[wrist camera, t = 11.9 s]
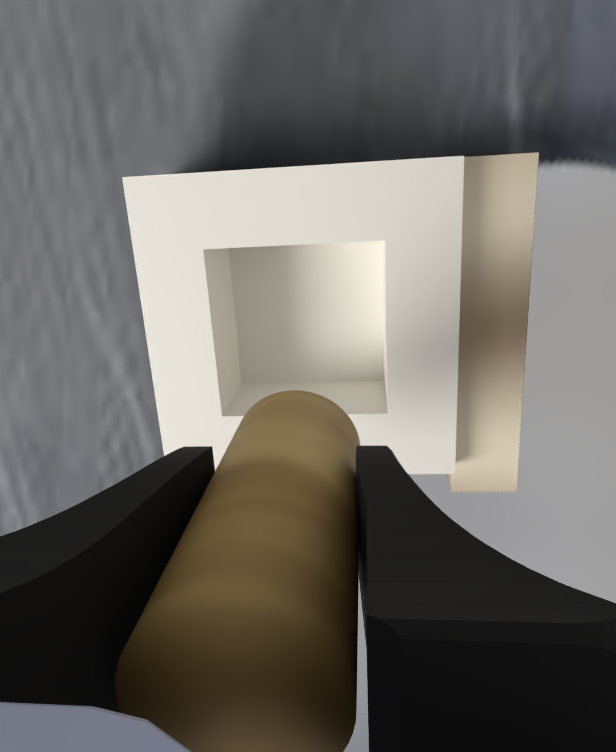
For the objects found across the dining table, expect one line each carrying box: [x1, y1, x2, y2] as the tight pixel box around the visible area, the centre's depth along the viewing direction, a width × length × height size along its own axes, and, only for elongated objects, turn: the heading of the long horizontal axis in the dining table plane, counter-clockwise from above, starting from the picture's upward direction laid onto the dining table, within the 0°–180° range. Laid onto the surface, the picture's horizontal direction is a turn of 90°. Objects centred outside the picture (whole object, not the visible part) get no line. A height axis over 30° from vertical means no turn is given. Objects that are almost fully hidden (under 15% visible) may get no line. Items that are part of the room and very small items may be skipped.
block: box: [122, 156, 464, 474], centre depth 18 cm, size 9×9×4 cm
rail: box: [447, 152, 539, 492], centre depth 18 cm, size 10×2×3 cm, turn 4°
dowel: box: [115, 390, 360, 752], centre depth 10 cm, size 3×3×7 cm
